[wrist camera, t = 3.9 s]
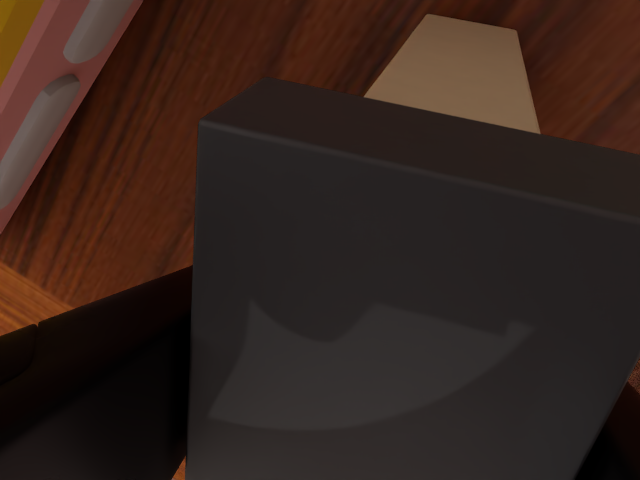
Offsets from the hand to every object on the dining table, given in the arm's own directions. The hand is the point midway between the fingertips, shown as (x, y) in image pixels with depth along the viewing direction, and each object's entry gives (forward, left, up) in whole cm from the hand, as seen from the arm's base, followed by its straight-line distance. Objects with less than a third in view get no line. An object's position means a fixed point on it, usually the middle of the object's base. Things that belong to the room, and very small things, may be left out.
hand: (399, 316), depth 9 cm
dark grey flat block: (0, 0, +1) cm, 1 cm away
